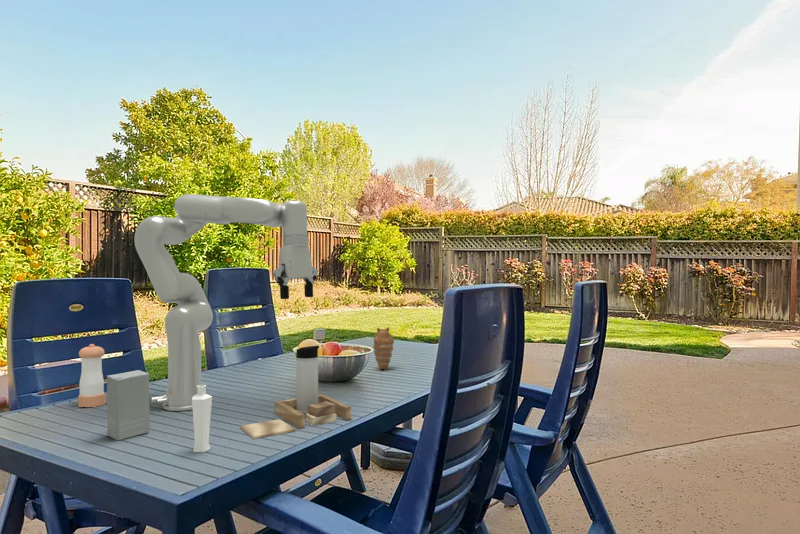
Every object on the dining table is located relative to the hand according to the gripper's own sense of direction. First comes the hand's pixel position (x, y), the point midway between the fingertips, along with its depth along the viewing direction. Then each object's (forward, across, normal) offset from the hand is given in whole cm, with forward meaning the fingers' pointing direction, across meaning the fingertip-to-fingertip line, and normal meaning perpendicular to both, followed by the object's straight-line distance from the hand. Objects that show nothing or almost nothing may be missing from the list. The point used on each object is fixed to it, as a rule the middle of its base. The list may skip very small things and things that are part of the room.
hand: (297, 298), depth 159 cm
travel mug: (+34, +3, +6) cm, 35 cm away
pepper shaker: (+32, +36, -56) cm, 74 cm away
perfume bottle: (+33, +39, +9) cm, 52 cm away
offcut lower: (+34, +6, +15) cm, 38 cm away
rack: (+34, +4, +9) cm, 35 cm away
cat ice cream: (+34, -63, -18) cm, 74 cm away
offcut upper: (+32, +6, +15) cm, 36 cm away
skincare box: (+33, +44, -16) cm, 57 cm away
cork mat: (+34, +20, +9) cm, 40 cm away
